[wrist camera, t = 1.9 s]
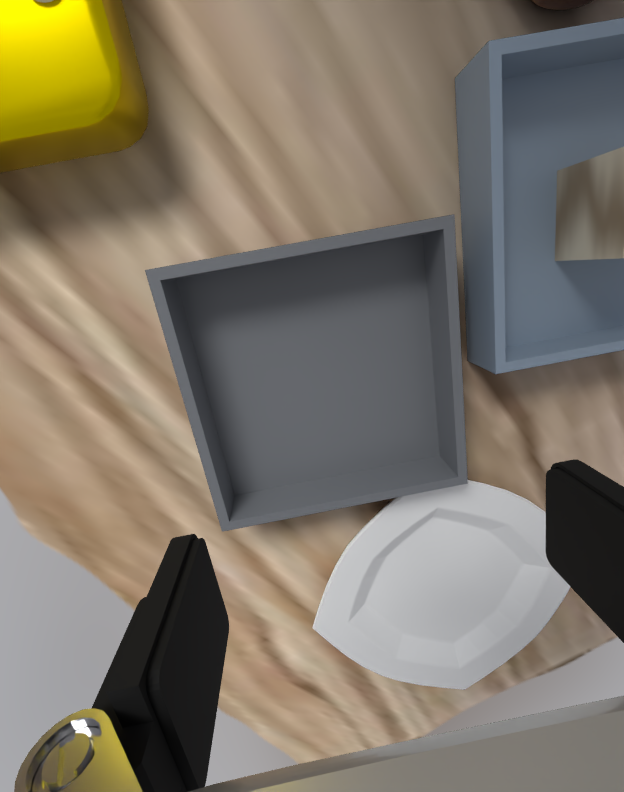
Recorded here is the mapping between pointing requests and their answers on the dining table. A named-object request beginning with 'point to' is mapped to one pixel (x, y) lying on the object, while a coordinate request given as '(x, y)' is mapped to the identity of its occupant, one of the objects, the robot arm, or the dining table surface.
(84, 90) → the element tile
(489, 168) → the slate bin
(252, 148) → the dining table surface
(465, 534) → the plate
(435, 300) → the charcoal bin
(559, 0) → the bread
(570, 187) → the letter cube
